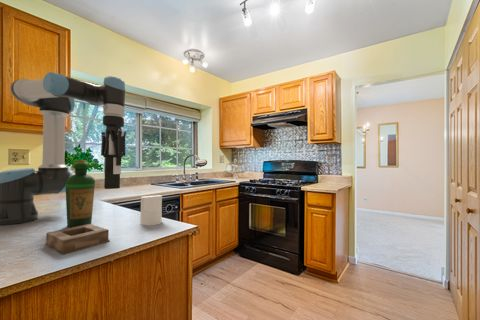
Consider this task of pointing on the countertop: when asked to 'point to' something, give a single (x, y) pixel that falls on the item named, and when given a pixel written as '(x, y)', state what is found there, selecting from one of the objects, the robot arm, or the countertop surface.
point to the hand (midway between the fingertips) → (112, 173)
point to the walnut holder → (76, 238)
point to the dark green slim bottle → (111, 169)
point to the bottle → (79, 196)
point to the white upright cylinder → (151, 210)
